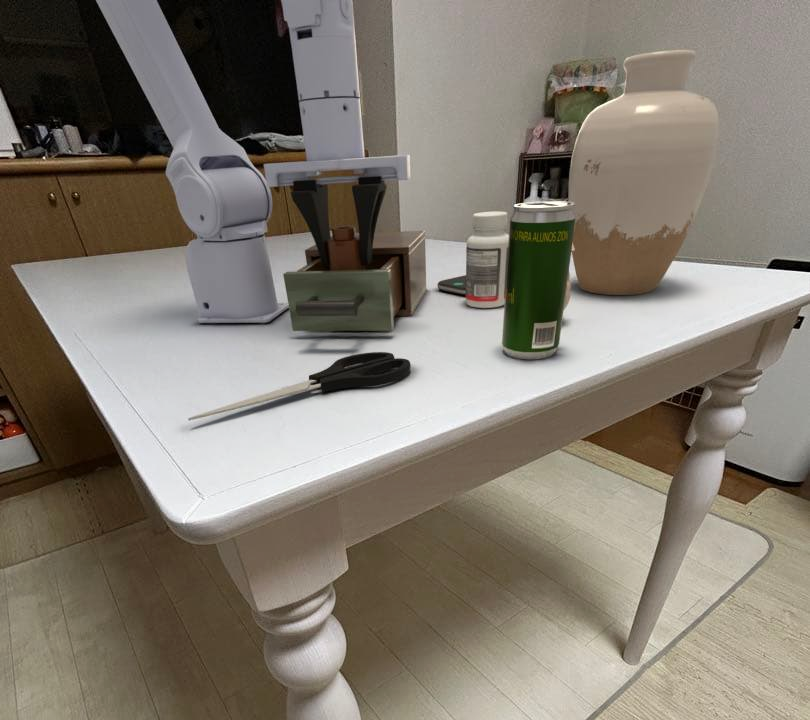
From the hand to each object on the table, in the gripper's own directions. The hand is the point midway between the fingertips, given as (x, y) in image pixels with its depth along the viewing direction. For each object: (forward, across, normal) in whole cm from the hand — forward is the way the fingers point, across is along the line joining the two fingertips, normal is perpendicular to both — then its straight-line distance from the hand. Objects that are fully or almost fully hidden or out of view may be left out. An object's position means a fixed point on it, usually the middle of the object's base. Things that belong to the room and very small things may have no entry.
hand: (347, 263), depth 56 cm
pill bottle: (+7, +15, +10) cm, 19 cm away
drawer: (+6, 0, -1) cm, 6 cm away
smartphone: (+7, +15, +21) cm, 27 cm away
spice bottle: (+1, 0, 0) cm, 1 cm away
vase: (+7, +32, +18) cm, 37 cm away
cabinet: (+6, 0, +11) cm, 13 cm away
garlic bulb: (+7, +21, +1) cm, 22 cm away
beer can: (+7, +20, -9) cm, 23 cm away
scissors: (+7, +1, -21) cm, 22 cm away
